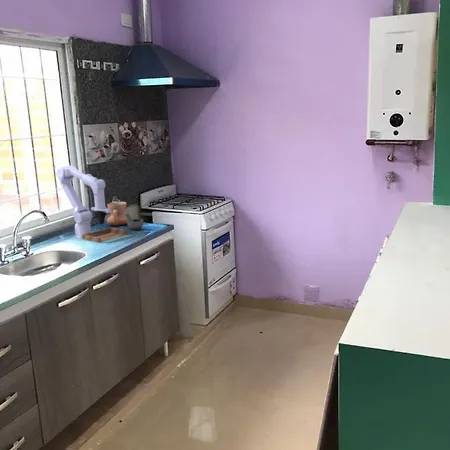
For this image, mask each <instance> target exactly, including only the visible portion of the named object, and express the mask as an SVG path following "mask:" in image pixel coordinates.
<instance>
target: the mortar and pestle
mask: <svg viewBox="0 0 450 450" xmlns="http://www.w3.org/2000/svg"><path fill="white" fill-rule="evenodd" d="M124 214H125V216H126V218H127V219H128V221H127V227H128V228H129V229H130V230H131V231H139V230H141V229H142V228H143V226H144V219H142V218H132V217H131V215H130V214H129V212H125V213H124Z"/></svg>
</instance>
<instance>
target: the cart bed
mask: <svg viewBox="0 0 450 450" xmlns="http://www.w3.org/2000/svg"><path fill="white" fill-rule="evenodd" d="M124 235H129V233H128V230H127V229H121V228H117V227H108V228H103V229H100V230H95V231H91V233H88V234H84V235H82V237H81V239H82V240H85V241H89V242H93V243H94V242H95V243H98V244H99V243H104V242H103V241H107V240H110V239H114V238H117V237H121V236H124Z"/></svg>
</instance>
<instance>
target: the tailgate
mask: <svg viewBox="0 0 450 450" xmlns="http://www.w3.org/2000/svg"><path fill="white" fill-rule="evenodd" d="M132 237H134V235H133V234H128V235H124V236H121V237H117V238H114V239H110V240H107V241H103V242H102V243H103V244H112V243H114V242H118V241H122V240H125V239H129V238H132Z"/></svg>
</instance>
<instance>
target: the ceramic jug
mask: <svg viewBox="0 0 450 450" xmlns="http://www.w3.org/2000/svg"><path fill="white" fill-rule="evenodd" d="M106 207H107V208H108V209H110V213H109V214H110V216H108V218H107V219H106V222H107V224H108V225H110V226H116V227H117V226H124V225H126V224H127V225H128V223H127V221H128V219H127V218H126V216H125V214H126V210H127V202H126V201H113V202H110V203H107V206H106Z"/></svg>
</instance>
